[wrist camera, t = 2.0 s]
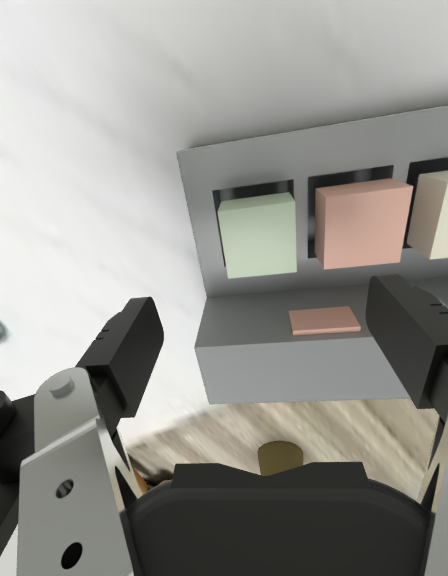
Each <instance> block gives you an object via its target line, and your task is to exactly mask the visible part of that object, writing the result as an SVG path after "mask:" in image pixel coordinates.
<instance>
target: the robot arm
mask: <svg viewBox="0 0 448 576" xmlns="http://www.w3.org/2000/svg"><path fill="white" fill-rule="evenodd" d="M365 317H366V323H367V327H368V329H369V331H370V333H371V334H372V336H373V338H374V339H375V341H376V342H377V344H378V346H379V347H380V349H381V351H382V352H383V354H384V356H385V357H386V359H387V360H388V362H389V364H390V365H391V367H392V369H393V370H394V372H395V373H396V375H397V377H398V378H399V380H400V382H401V383H402V385H403V387H404V388H405V390H406V391H407V393H408V395H409V396H410V398H411V400H412V401H413V403H414V404H415V406H416V408H417V409H430V408H435V410H436V411H437V413H438V414H439V415H440V416H439V418H438V421H437V424H436V428H435V432H434V437H433V441H432V445H431V449H430V453H429V458H428V462H427V466H426V470H425V475H424V478H423V482H422V486H421V489H420V492H419V495H418V498H417V501H415V500H413V499H412V498H410V497H409V496H407V495H405V494H404V493H402V492H400V491H398V490H396V489H394V488H392V487H390V486H388V485H385V484H383V483H380V482H378V481H375V480H372V479H368V478H367V475H366V472H365V469H364V466H363V463H362V462H313V463H309V464H306V465H303V466H299V467H296V468H293V469H289V470H286V471H283V472H279V473H276V474H273V475H269V476H262V475H258V474H254V473H251V472H247V471H244V470H240V469H237V468H233V467H229V466H226V465H222V464H219V463H200V464H175V469H174V473H173V478H172V480H169V481H166V482H164V483H162V484H160V485H157V486H156V487H154V488H152V489H151V490H149V491H147V492H146V493H144V494H142V492H141V490H140V488H139V485H138V483H137V480H136V478H135V475H134V472H133V469H132V466H131V463H130V460H129V457H128V454H127V451H126V448H125V445H124V442H123V439H122V436H121V433H120V431H119V429H118V427H117V426H118V423H119V421H120V419H121V418H131V417H135V415H136V412H137V410H138V407H139V405H140V402H141V399H142V397H143V394H144V392H145V389H146V386H147V384H148V381H149V379H150V376H151V373H152V371H153V368H154V366H155V363H156V360H157V358H158V355H159V353H160V350H161V347H162V345H163V341H164V332H163V327H162V324H161V321H160V318H159V315H158V312H157V309H156V306H155V303H154V300H153V299H152V298H151V297H142V298H132V299H130V300H129V301H128V303H127V304H126V306H125V307H124V309H123V310H122V312H119V313H117V314H116V315H115V316H114V317H112V318H111V319H110V320H108V322H107V323H106V324H105V326H104V327H103V329H102V330H101V332H100V333H99V334H98V336H97V337H96V340H94V341H93V343H92V344H91V345H90V347H89V348H88V349H87V351H86V352H85V354H84V355H83V356H82V358H81V359H80V361H79V362H78V363H77V365H76V366H75V368H69V369H66V370H63V371H61V372H59V373H57V374H55V375H53V376H52V377H50V378H49V379H48V380H46V381H45V382H44V383H43V384H42V385H41V386H40V387H39V389H38V390H37V392H36V394H34V395H31V396H27V397H24V398H21V399H18V400H14V401H11V400H10V399H9V398H8V397H7V395H6V394H5V393H4V392H3V391H0V556H1V554H2V552H3V550H4V548H5V547H6V545H7V543H8V541H9V539H10V537H11V535H12V534H13V532H14V530H15V528H16V526H17V524H18V547H17V549H18V550H17V576H448V308H447V307H446V306H445V305H442V303H441V302H440V301H439V300H438V299H437V298H436V297H435V296H433V295H432V294H431V293H429V292H427V291H425V290H422V289H420V288H418V287H416V286H414V287H411V286H410V285H409V284H408V283H407V282H406V281H405V280H404V279H403V278H402V277H401V276H400V275H398V274H388V275H377V276H372V277H371V279H370V282H369V289H368V297H367V305H366V313H365Z"/></svg>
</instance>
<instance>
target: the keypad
mask: <svg viewBox="0 0 448 576" xmlns="http://www.w3.org/2000/svg"><path fill="white" fill-rule="evenodd" d="M176 153H177V158H178V162H179V167H180V172H181V177H182V181H183V186H184V191H185V196H186V200H187V205H188V210H189V215H190V220H191V224H192V229H193V234H194V239H195V243H196V248H197V253H198V258H199V262H200V267H201V272H202V277H203V281H204V286H205V291H206V296H207V300H206V304H205V307H204V311H203V315H202V319H201V323H200V327H199V331H198V335H197V339H196V343H195V347H194V348H195V352H196V356H197V360H198V364H199V367H200V371H201V375H202V379H203V383H204V386H205V390H206V394H207V398H208V402H209V404H235V403H269V402H303V401H338V400H372V399H406V398H410V396H409V395H408V393H407V391H406V390H405V388H404V387H403V385H402V383H401V382H400V380H399V378H398V377H397V375H396V373H395V372H394V370H393V369H392V367H391V365H390V364H389V362H388V360H387V359H386V357H385V356H384V354H383V352H382V351H381V349H380V347H379V346H378V344H377V342H376V341H375V339H374V338H373V336H372V334H371V333H370V331H369V329H368V327H367V323H366V317H365V313H366V305H367V297H368V289H369V282H370V279H371V277H372V276H377V275H388V274H398V275H400V276H401V277H402V278H403V279H404V280H405V281H406V282H407V283H408V284H409V285H410V286H411V287H414V286H416V287H418V288H420V289H422V290H425V291H427V292H429V293H431V294H432V295H433V296H435V297H436V298H437V299H438V300H439V301H440V302H441V303H442V305H445V306H446V307H447V308H448V258H440V259H428V258H427V257H425V256H424V255H423V254H421V253H420V252H418V251H417V250H415V249H414V248H413V247H411V246H410V245H408V244H407V238H408V232H407V231H406V230H405V235H404V241H403V246H402V252H401V258H400V262H398V263H388V264H377V265H367V266H356V267H346V268H335V269H325V270H324V269H323V267H322V265H321V263H320V262H319V260H318V258H317V256H316V254H315V191H316V188H322V187H330V186H337V185H344V184H352V183H359V182H366V181H374V180H381V179H388V178H391V179H394V180H397V181H399V182H402V183H405V184H408V185H411V186H412V183H413V177H419V174H425V173H432V172H440V171H447V170H448V105H445V106H439V107H433V108H427V109H421V110H415V111H409V112H403V113H397V114H391V115H385V116H379V117H373V118H367V119H361V120H355V121H349V122H343V123H337V124H331V125H325V126H319V127H313V128H307V129H301V130H295V131H289V132H283V133H277V134H271V135H265V136H259V137H253V138H247V139H241V140H235V141H229V142H223V143H217V144H211V145H205V146H199V147H193V148H188V149H185V150H181V151H178V152H176ZM286 192H289V193H290V194H291V196H292V197H293V199H294V200H295V214H296V261H297V272H293V273H283V274H272V275H261V276H251V277H240V278H230V279H228V275H227V268H226V262H225V256H224V250H223V243H222V237H221V231H220V225H219V218H218V209H219V207H220V204H221V202H222V201H227V200H234V199H242V198H249V197H256V196H264V195H271V194H278V193H286Z"/></svg>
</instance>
